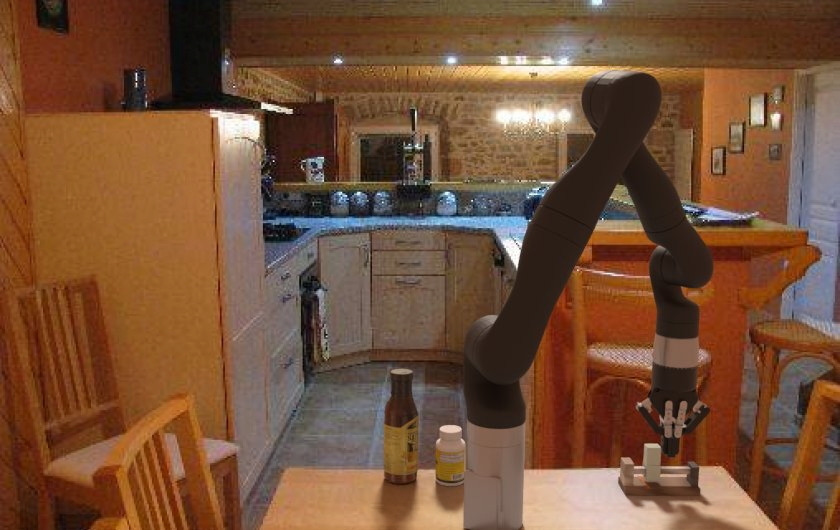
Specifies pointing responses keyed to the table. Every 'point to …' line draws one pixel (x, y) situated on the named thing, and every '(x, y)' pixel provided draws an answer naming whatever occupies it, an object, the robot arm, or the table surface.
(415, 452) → the sauce bottle
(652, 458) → the white upright block
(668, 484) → the board
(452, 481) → the supplement bottle
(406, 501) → the table surface
